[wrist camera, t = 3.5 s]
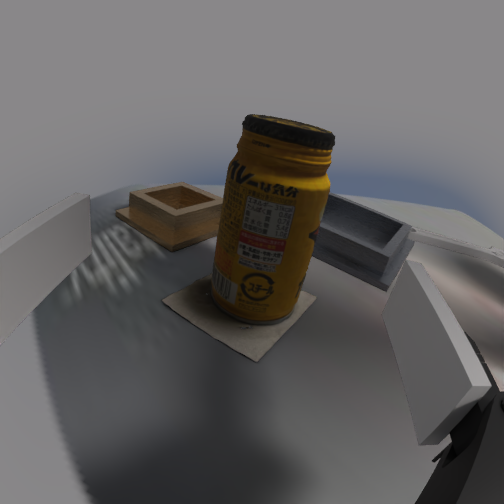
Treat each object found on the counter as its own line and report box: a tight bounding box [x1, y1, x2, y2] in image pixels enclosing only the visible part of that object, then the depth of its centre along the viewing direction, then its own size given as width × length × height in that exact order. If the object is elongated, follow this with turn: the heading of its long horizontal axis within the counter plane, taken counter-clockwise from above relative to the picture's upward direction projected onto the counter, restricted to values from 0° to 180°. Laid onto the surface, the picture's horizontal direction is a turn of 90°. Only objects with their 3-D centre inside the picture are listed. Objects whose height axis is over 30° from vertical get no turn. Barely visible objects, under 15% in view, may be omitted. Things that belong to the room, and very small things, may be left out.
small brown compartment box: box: [116, 182, 223, 252], centre depth 31 cm, size 9×9×3 cm
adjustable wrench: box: [408, 227, 504, 268], centre depth 41 cm, size 25×6×2 cm, turn 79°
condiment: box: [162, 114, 335, 362], centre depth 19 cm, size 7×8×12 cm
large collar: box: [312, 192, 414, 291], centre depth 35 cm, size 15×15×3 cm
